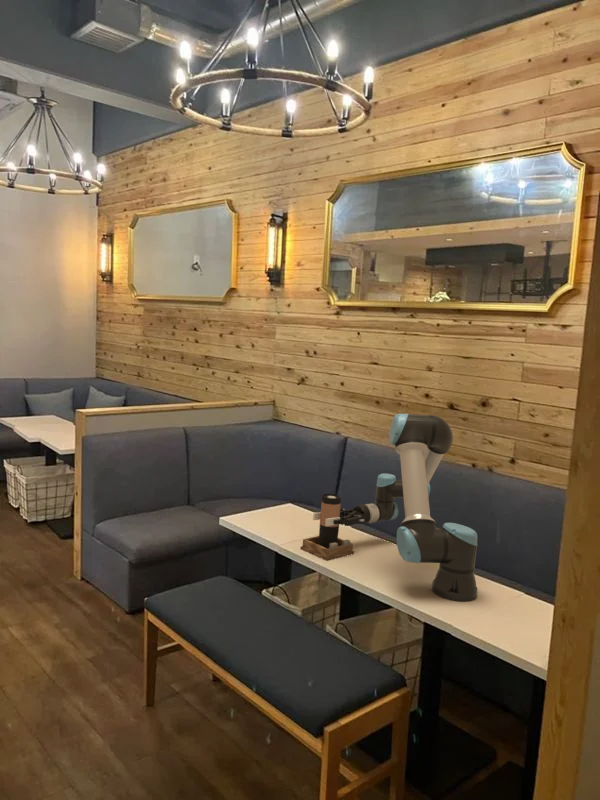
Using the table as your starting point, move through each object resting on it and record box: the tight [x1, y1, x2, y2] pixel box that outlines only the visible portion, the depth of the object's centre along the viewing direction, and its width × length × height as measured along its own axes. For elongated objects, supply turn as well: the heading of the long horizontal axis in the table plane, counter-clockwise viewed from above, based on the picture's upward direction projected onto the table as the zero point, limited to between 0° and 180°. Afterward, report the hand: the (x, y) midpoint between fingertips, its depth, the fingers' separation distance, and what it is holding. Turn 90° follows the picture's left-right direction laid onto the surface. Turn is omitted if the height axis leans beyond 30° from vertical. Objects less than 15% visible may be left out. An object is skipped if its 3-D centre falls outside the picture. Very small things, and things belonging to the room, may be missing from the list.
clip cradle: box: [300, 535, 355, 562], centre depth 247 cm, size 15×15×6 cm
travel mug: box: [318, 493, 342, 548], centre depth 246 cm, size 8×8×20 cm
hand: (319, 519), depth 244 cm, fingers closed on travel mug, 7 cm apart
